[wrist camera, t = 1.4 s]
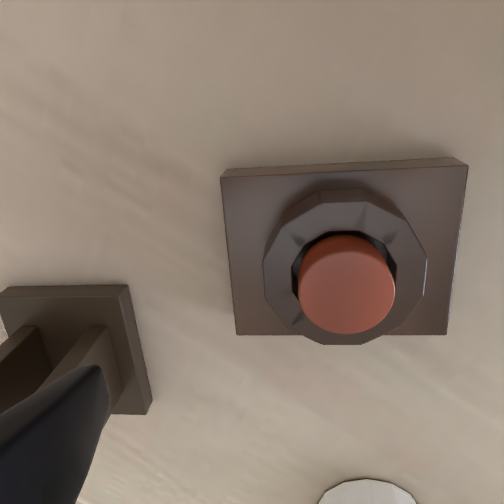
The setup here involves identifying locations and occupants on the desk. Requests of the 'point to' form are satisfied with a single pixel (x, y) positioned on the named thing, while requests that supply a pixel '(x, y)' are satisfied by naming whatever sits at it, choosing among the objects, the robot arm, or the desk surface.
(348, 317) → the release button
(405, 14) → the desk surface
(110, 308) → the lock bracket
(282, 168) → the button plate
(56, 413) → the robot arm
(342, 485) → the white cup
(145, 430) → the desk surface
